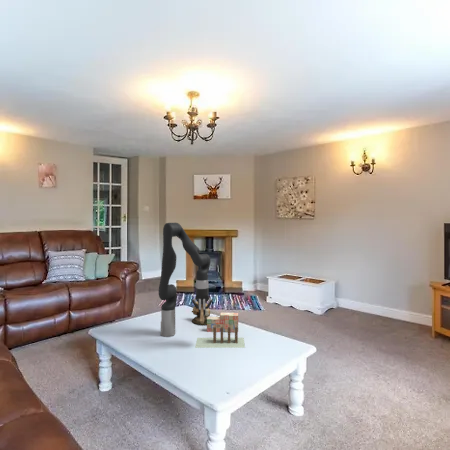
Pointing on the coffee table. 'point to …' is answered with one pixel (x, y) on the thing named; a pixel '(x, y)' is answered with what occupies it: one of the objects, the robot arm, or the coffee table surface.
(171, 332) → the robot arm
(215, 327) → the domino
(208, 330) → the stack of blocks
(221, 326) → the domino
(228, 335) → the domino
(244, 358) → the coffee table surface
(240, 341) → the mat
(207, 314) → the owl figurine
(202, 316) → the domino
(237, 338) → the domino
